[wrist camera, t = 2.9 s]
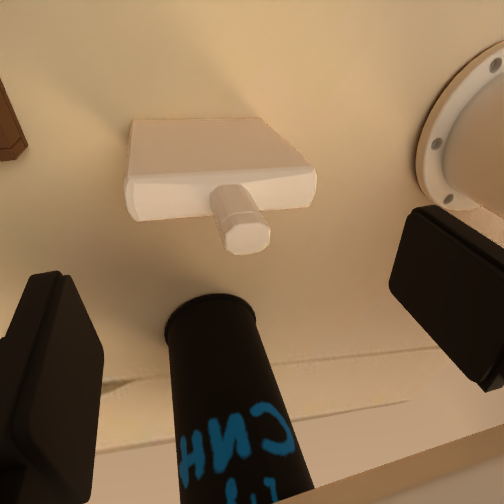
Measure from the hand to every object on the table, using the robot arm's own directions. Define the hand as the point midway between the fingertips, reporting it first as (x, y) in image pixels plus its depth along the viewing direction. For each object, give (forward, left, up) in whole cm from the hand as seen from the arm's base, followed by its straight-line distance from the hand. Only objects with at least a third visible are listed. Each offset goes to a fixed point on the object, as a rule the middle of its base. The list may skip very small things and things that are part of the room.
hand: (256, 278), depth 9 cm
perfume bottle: (0, 0, -14) cm, 14 cm away
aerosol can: (+1, +17, -14) cm, 22 cm away
